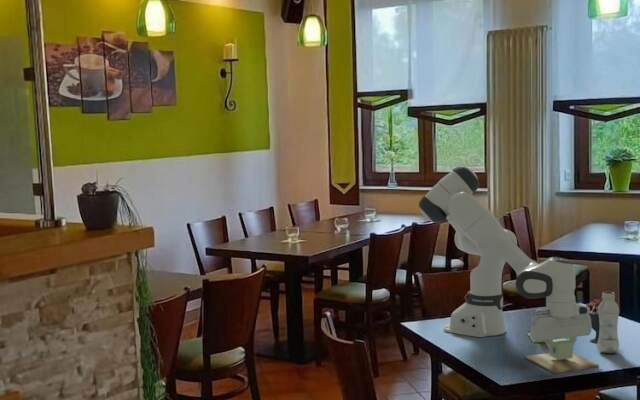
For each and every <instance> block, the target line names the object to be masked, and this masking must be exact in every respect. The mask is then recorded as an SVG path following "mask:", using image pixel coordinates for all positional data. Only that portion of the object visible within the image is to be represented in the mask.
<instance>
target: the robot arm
mask: <svg viewBox="0 0 640 400" xmlns="http://www.w3.org/2000/svg"><path fill="white" fill-rule="evenodd" d="M478 178H479V177H478V176H477V175H476V173H475V171H474V170H472V169H471V168H470V167H468V166H466V165H458V166H456V167H455V168H453V169H452V171H451V172H449V173H447V174H446V175H445V176H443V177H442V178H440V180H439V181H437V183H436V184H434V185H433V186H432V188H431V189H430V190H429V191H428V192H427V193H426V194H425V195H423V196H422V197H421V199H420V200H419V202H418V207H419V210H420V213H421V215H422V216H423V217H424V218H425V219H426V220H427V221H429V222H432V223H433V224H440V223H443V222H445V223H447V222H448V223H449V224H450V225H451V226H452V227H453V229H454V231H455V234H454V244H455V246H456V248H457V249H459V250H460V251H462V252H465V253H466V254H470V255H475V256H480V260H479V263H478V266H476V267H474V268H472V269H471V272H470V275H469V278H470V280H469V281H470V283H469V284H470V290H468V291H467V292H466V294H465V296H464V300H465V302H464V303H463V304H461V305H460V306H459V307H458V308H456V309H455V310H453V312H452V313H451V315H450V320H449V322H448V323H446V324H445V325H444V327H443V332H446V333H451V334H458V335H462V336H471V337H477V338H484V337H491V336H498V335H503V334H505V333H506V332H507V327H506V325H505V324H506V323H505V321H504V315H503V307H504V297H503V292H502V276H503V269H504V266H505V264H508V265H509V266H510V267H511V268H512V269H513V270H514V271H515V274H516V279H515V289H516V290H517V293H518V294H519V295H520V296H522V297H524V298H525V299H530V300H532V299H542V298H545V299H546V300H545V302H546V303H545V307H546V308H545V310H542V311H540V310H538V311H535V312H534V313H533V314H532V315H531V317H530V318H531V319H530V322H531V323H530V324H531V325H530V332H529V334H530V338H531V340H533V341H535V342H545V344H546V346H547V347H548V349H547V350H548V351H547V352H548V353H555V352H556V351H555V350H556V348H555V347H553V346H552V344H551V343H553V340H555V339H563V338H564V339H569V341H571V342H573V346H574V345H575V343H576V342H577V339H578V338H577V337H586V336H590V335H591V333H592V331H593V329H592V326H591V317H590V315H589V313H590V308H589V307H587V306H586V305H585V304H582V303H578V302H576V295H575V290H576V271H575V266H574V264H573V262H572V261H571V260H569V259H567V258H564V257H560V256H551V257H548V258H547V259H546V260H544V261H542V262H540V261H537V260H535V259H533V258H531V257H530V256H528V255H527V254H526V253H525V252H524V251H523V250H522V248H520V247H519V246H518V239H517V236H516V234H515V233H514V232H513V231H511V230H509V229H506V228H503V227H502V225H501V223H500V222H499V221H498V219H497V218H496V216H495V215H494V214H493V213H492V212H491V211H490V210H489V209H488V207H486V205H485V204H483V203H482V202H481V201H480V200H479V199H478V198H477V197H475V196H474V195H473V194H475V193H476V192H477V190H478V189H479V187H480V181H479V179H478Z"/></svg>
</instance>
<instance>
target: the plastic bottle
mask: <svg viewBox="0 0 640 400" xmlns="http://www.w3.org/2000/svg"><path fill="white" fill-rule="evenodd" d="M601 295H602V296H601V299H603V300H602V302H601V303H600V305H599V306H598V313H599V324H600V330H599V338H598V343H596V344H597V350H599V352H601V353H603V354H616V353H617V352H618V351H619V349H620V348H619V347H620V342H619V335H618V324H619V323H618V322H619V314H620V306H619V304H618V303H617V302H616V301H615V299H616V297H615V295H616V294H615V292H614V291H613V292H612V291H603V292H602V294H601Z"/></svg>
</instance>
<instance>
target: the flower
mask: <svg viewBox="0 0 640 400" xmlns="http://www.w3.org/2000/svg"><path fill="white" fill-rule="evenodd" d="M602 299H603V298H600V299H596V298H595V299H594V300H593V301H590V302H589V303H586V305H585V306H587V307H589V308H590V305H591V306H594V305H598V303H600V302H602Z"/></svg>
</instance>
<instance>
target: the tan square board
mask: <svg viewBox="0 0 640 400" xmlns="http://www.w3.org/2000/svg"><path fill="white" fill-rule="evenodd" d="M525 360H527V361H529V362H530V363H533V364H534V365H537V364H538V365H537V366H539V367H540V366H541V368H542V367H543V368H542V369H544V368H545V370H546V369H547V371H548V372H550V373H551V374H558V373H565V372H571V371H572V372H573V371H579V370H586V369H594V368H599V366H600V364H599V363H598V362H597V363H596V362H594V361H592V360H590V359H588V358H586V357H584V356H581V355H579V354H577V353H575V352H573V358H568V359H561V360H558V359H556V358H554V357H552V356H550V353H549V352H546V353H541V354H540V353H539V354H533V355H532V354H531V355H525Z"/></svg>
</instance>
